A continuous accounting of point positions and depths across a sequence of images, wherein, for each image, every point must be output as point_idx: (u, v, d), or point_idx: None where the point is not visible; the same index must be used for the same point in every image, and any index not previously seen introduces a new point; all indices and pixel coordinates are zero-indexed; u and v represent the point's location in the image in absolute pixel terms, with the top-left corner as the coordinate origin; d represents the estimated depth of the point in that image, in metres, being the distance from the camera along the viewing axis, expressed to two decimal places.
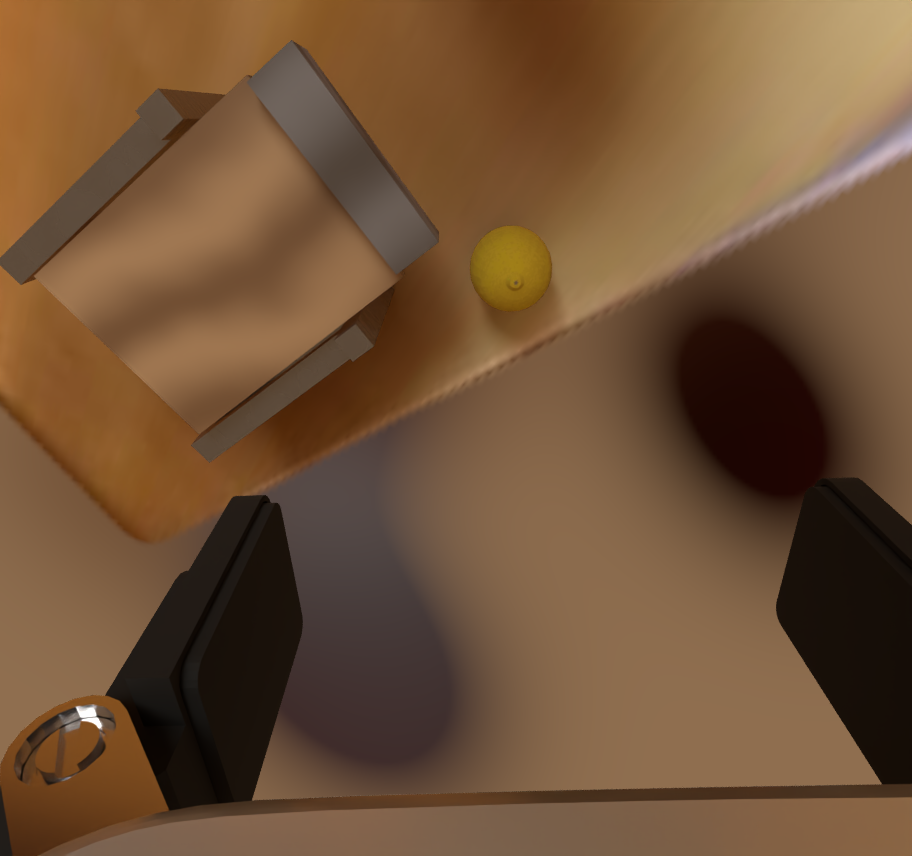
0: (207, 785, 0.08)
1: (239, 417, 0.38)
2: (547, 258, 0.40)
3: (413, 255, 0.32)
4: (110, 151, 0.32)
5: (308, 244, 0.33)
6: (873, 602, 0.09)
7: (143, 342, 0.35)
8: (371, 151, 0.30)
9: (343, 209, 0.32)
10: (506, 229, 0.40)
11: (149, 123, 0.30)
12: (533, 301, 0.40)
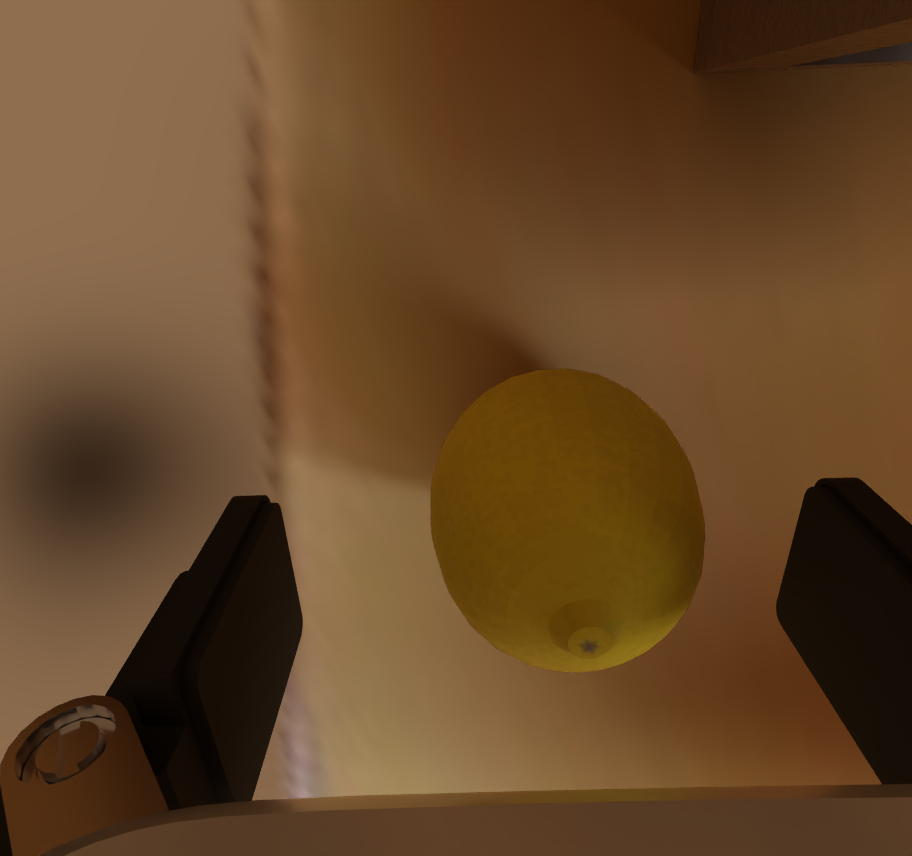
0: (207, 785, 0.08)
1: None
2: None
3: None
4: None
5: None
6: (873, 602, 0.09)
7: None
8: None
9: None
10: None
11: None
12: (459, 591, 0.11)
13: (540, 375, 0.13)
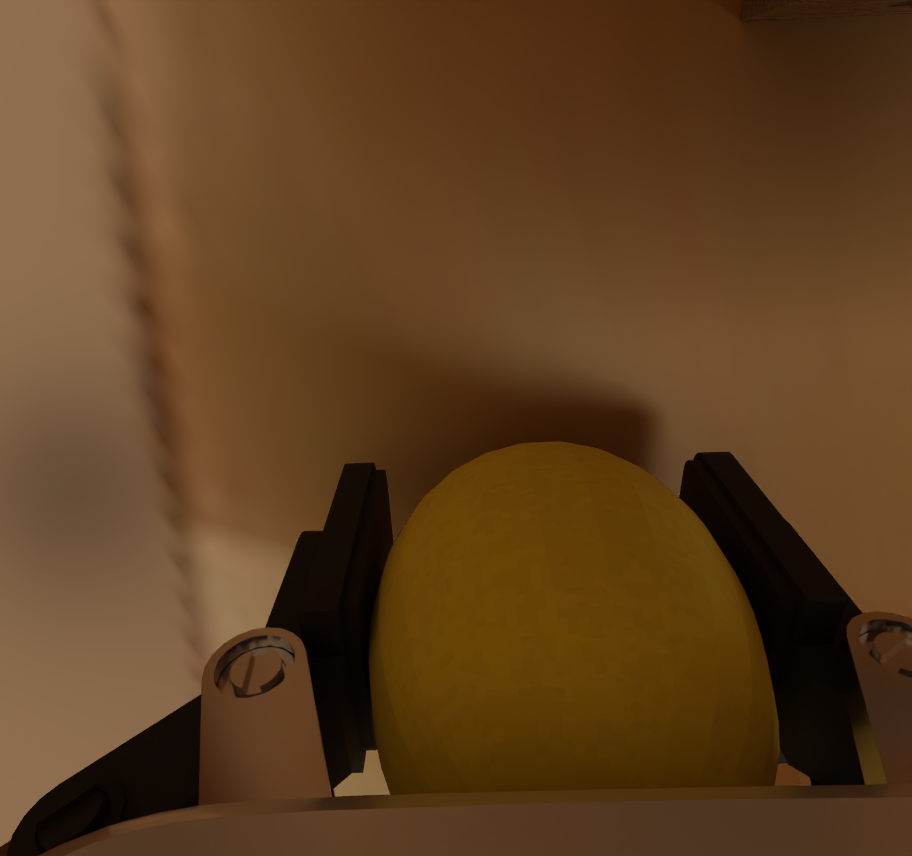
0: (353, 715, 0.09)
1: None
2: None
3: None
4: None
5: None
6: None
7: None
8: None
9: None
10: None
11: None
12: None
13: (526, 461, 0.09)
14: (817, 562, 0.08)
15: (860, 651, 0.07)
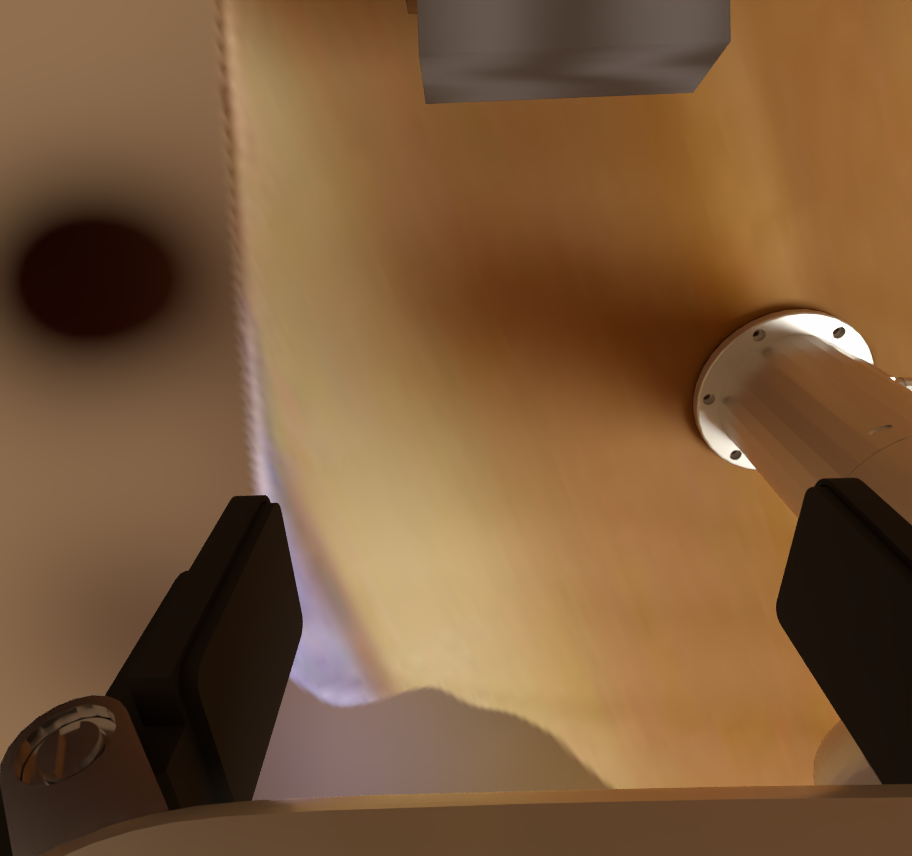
0: (207, 785, 0.08)
1: None
2: None
3: (424, 12, 0.22)
4: None
5: None
6: (873, 602, 0.09)
7: None
8: (569, 46, 0.22)
9: None
10: None
11: None
12: None
13: None
14: None
15: None
